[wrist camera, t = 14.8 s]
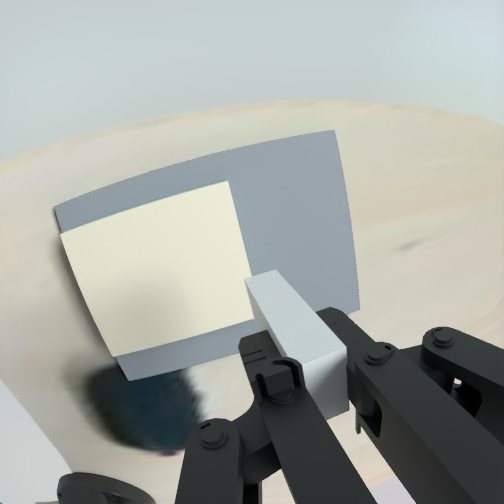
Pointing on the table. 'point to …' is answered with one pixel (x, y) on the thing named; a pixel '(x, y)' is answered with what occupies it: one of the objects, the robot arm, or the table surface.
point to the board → (163, 269)
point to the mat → (252, 230)
